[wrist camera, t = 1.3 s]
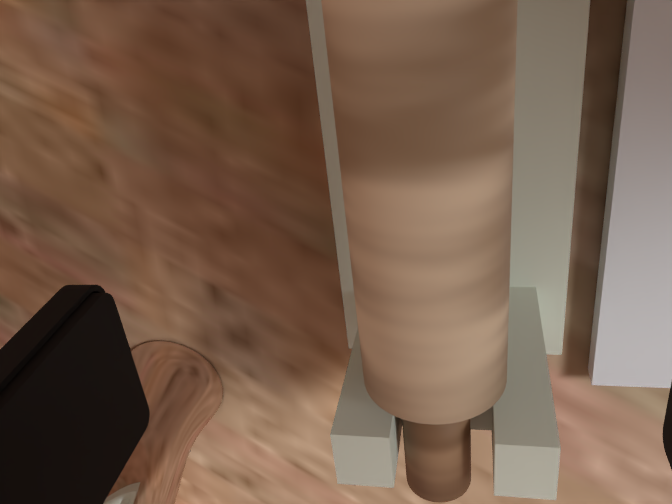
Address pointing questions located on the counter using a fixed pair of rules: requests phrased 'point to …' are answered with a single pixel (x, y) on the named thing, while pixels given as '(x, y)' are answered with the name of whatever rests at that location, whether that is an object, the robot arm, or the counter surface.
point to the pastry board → (638, 213)
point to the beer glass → (167, 421)
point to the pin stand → (525, 261)
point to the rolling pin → (428, 212)
